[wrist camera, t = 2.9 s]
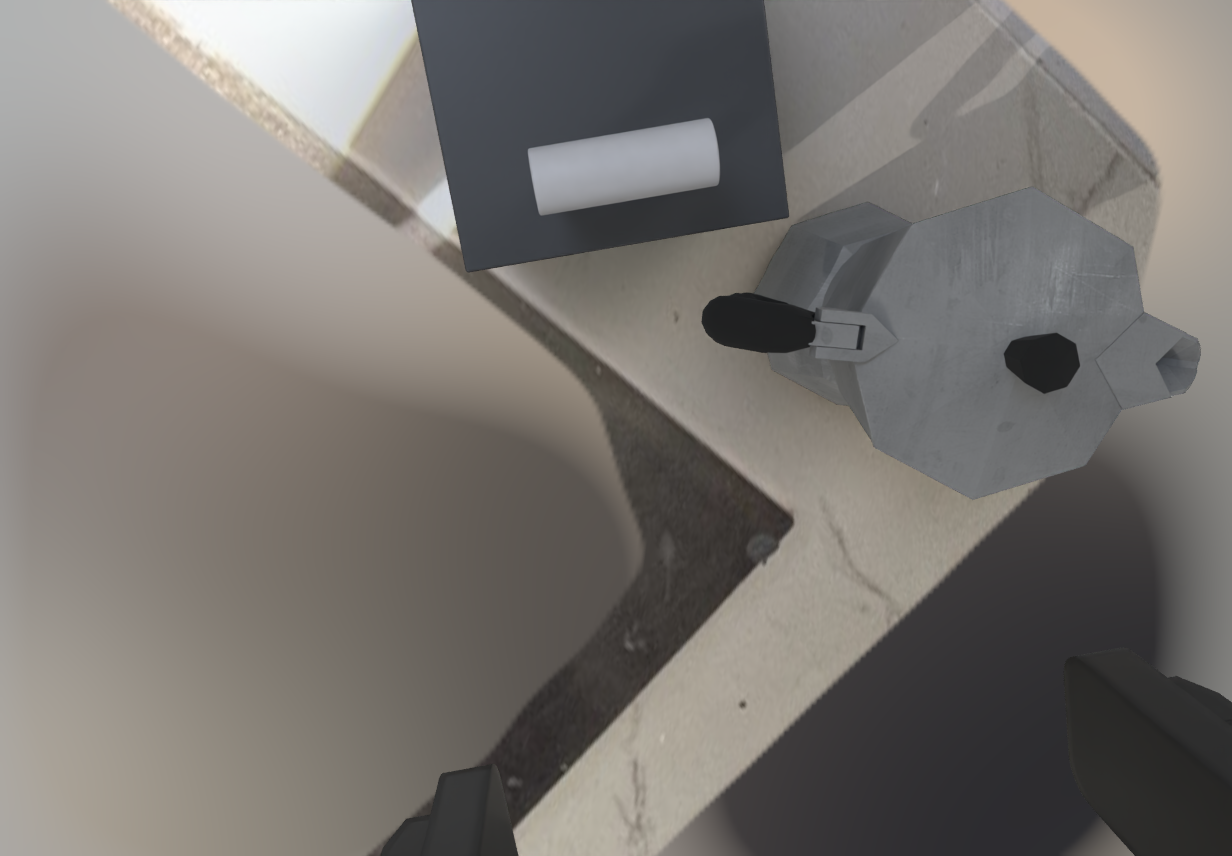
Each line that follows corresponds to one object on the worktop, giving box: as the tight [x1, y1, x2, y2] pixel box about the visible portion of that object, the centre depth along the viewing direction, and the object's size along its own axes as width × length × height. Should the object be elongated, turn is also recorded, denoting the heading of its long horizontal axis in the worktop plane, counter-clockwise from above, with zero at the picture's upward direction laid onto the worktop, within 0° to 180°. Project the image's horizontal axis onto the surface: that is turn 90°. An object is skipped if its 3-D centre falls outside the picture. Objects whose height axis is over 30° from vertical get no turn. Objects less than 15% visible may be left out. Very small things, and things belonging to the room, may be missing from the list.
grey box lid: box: [411, 0, 789, 272], centre depth 25 cm, size 12×11×6 cm
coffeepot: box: [702, 187, 1201, 500], centre depth 32 cm, size 15×9×18 cm, turn 84°
